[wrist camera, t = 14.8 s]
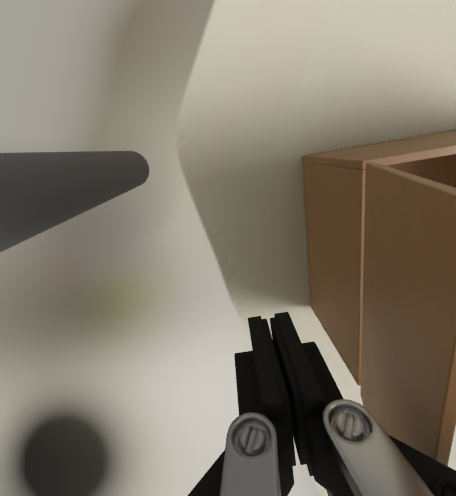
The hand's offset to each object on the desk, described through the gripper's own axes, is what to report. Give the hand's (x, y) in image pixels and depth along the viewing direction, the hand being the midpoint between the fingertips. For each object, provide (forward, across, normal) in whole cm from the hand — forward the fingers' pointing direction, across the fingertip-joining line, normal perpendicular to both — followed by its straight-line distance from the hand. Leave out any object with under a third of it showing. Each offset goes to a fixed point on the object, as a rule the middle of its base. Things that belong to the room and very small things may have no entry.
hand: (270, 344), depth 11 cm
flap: (-1, -4, 0) cm, 5 cm away
